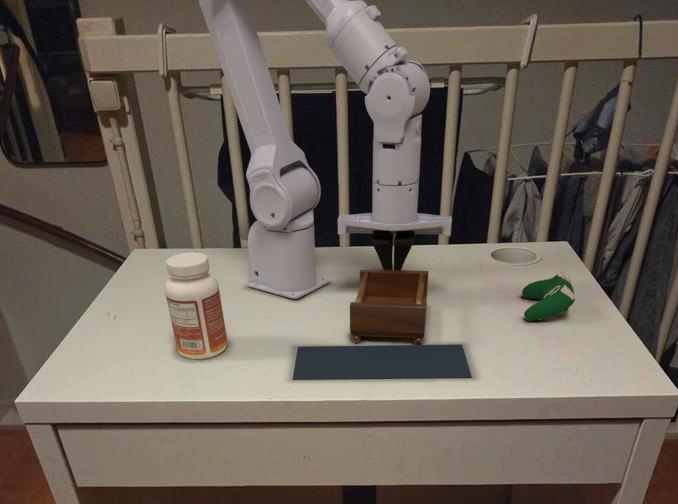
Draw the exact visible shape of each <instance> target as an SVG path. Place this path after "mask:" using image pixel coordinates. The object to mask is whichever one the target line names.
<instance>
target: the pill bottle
mask: <svg viewBox="0 0 678 504" xmlns="http://www.w3.org/2000/svg"><path fill="white" fill-rule="evenodd" d="M165 265H166V271H167V274H168V276H169V277H170V278H168V279H167V280H166V282H165V285H164V293H165V298H166V304H167V308H168V312H169V317H170V323H171V327H172V332H173V336H174V341H175V347H176V350H177V352H178V353H179V354H180V355H181V356H182V357H184V358H187V359H191V360H205V359H209V358H212V357H215V356H218V355H220V354H221V353H222V352H224V351H225V350H226V348H227V347H228V338H227V330H226V325H225V318H224V312H223V305H222V300H221V292H220V287H219V286H220V285H219V282H218V280H217V278H216V277H215V276H214V275H212V274H211V273H209V272H210V262H209V257H208V255H206V254H205V253H202V252H194V251H193V252H182V253H177V254H174V255H172V256H170V257H168V258H167V259H166V261H165Z"/></svg>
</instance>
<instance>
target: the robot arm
mask: <svg viewBox="0 0 678 504" xmlns="http://www.w3.org/2000/svg"><path fill="white" fill-rule="evenodd" d="M304 1H305V2H306V4H307V5H308V6H309V7H310V8H311V10H312V11H313V12H314V13H315V14H316V15H317V16H318V18H319V19H320V20H321V22H323V24H324V25H325V42H326V46H327V48H328V49H329V50H330V52H331V53H332V54H333V56H334V57H335V58H336V59H337V61H338V62H339V63H340V65H341V66H342V67H343V68H344V69H345V71H346V72H347V74H348V75H349V76H350V77H351V79H352V80H353V81H354V83H355V84H356V85H357V86H358V88H359V89H360V91H361V92H362V93H364V94H366V95H365V96H364V105H365V108H366V111H367V113H368V115H369V117H370V118H371V120H372V122H373V139H372V200H371V201H372V206H371V208H372V209H371V210H372V211H371V212H365V213H356V214H340V215H338V218H337V235H341V236H342V235H343V236H344V235H347V234H372V240H371V241H372V246H373V248H374V251H375V253H376V255H377V257H378V259H379V262H380V265H381V268H382V270H403V266H404V264H405V261H406V260H407V257H408V255H409V253H410V251H411V250H412V247H413V245H414V242H415V235H441V236H442V237H451V233H452V224H453V223H452V222H453V216H452V215H437V214H429V213H421V212H418V204H419V186H420V171H421V170H420V168H421V151H422V149H421V148H422V121H423V120H422V119H423V114H420V113H422V111H423V110H424V109H425V108H426V106H427V104H428V102H429V100H430V94H431V85H430V80H429V77H428V74H427V73H426V71H425V69H424V65H423V64H422V63H420V62H418V61H417V60H413V59H406V58H407V57H408V54H409V53H408V51H407V50H406V48H405V47H404V46H403V45H402V46H398V45H397V43H396V42H395V41H394V40H393V38H392V37H391V35H390V34H389V32H387V30H386V29H385V27H384V26H383V24H382V23H381V22H380V21H379V19H380V18H381V17H382V13H381V11H380V10H379V9H378V7H377V6H376V5H367V3H366V2H365V0H304ZM198 3H199V7H200V9H201V12H202V15H203V18H204V21H205V23H206V27H207V30H208V32H209V36H210V38H211V41H212V45H213V47H214V50H215V52H216V56H217V58H218V61H219V64H220V67H221V70H222V72H223V75H224V79H225V81H226V84H227V87H228V90H229V93H230V96H231V99H232V102H233V105H234V108H235V110H236V113H237V117H238V119H239V122H240V126H241V127H242V130H243V134H244V136H245V140H246V142H247V145H248V148H249V151H250V159H249V161H248V166H247V169H246V172H245V173H246V174H245V177H246V180H247V183H248V186H249V187H248V188H249V205H250V209H251V212H252V214H253V216H254V218H255V220H256V221H254V223H252V225H251V226H250V228H249V231H248V235H247V251H248V261H249V262H248V263H249V270H250V279H251V281H249V282H248V283H247V286H248V287H249V288H253V289H256V290H260V291H264V292H267V293H271V294H274V295H278V296H281V297H285V298H287V299H288V298H289V299H292V300H298V299H299V298H302V297H304V296H306V295H308V294H309V293H311V292H313V291H316V290H317V289H319V288H322V287H323V286H325V285H327V284H329V283H330V279H328V278H326V277H321V276H317V264H316V263H317V261H316V243H315V242H316V240H315V239H316V238H315V218H314V209H316V207H317V205H318V204H319V202H320V199H321V194H322V187H321V183H320V179H319V177H318V176H317V173H315V171H314V170H313V169H312V168H311V167H310V165H309V163H308V161H307V158H306V154H305V152H304V151H303V150H302V149H301V148H300V147H299V146H298V145H297V144H296V143H295V142H294V141H292V139H291V136H290V134H289V131H288V127H287V123H286V120H285V118H284V115H283V111H282V108H281V105H280V102H279V98H278V95H277V92H276V89H275V85H274V82H273V79H272V76H271V72H270V70H269V66H268V63H267V60H266V56H265V54H264V51H263V48H262V44H261V41H260V38H259V35H258V31H257V29H256V25H255V22H254V18H253V16H252V12H251V8H250V5H249V2H248V0H198Z"/></svg>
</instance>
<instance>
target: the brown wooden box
mask: <svg viewBox="0 0 678 504" xmlns="http://www.w3.org/2000/svg"><path fill="white" fill-rule="evenodd" d="M429 273H430V271H429V270H413V269H412V270H409V269H407V270H406V269H401V270H383V269H371V268H370V269H367V268H366V269H365V268H364V269H363V268H361V269H360V270H359V289H358V291H357V296H356V299H355V301H351V302H350V303H349V331H350V336H351V340H352V342H353V343H355V344H357V343H360V341H361V338H362V337H384V338H385V337H386V338H387V337H389V338H413V344H414V345H422V343H423V339H424V338H425V331H426V318H427V301H428V289H429V288H428V286H429Z"/></svg>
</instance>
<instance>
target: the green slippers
mask: <svg viewBox="0 0 678 504" xmlns="http://www.w3.org/2000/svg"><path fill="white" fill-rule="evenodd" d="M521 295H522V297H523V298H524V299H526V300H527V299H528V300H540V301H537V302H535V303H534V304H532V305H530V306H529V307H528V308H527V309H526V310H525V311H524V313H523V316H524V317H525V320H526V321H527V322H531V321H542V320H544V319H548V318H552V317H554V316H557V315H559V314H561V313H566V312H567V311H568V310H569V308H570V307H571V306H572V305H573V304H574V303H575V302H576V295H575V291H574V287H573V285H572V281H571V279H570V277H569V276H568V275H567V274H566V272H564V271H563V270H562V269H560V270H559V272H558V273H557V274H555V275H554V276H553V277H549V278H546V279H541V280H536V281H533V282H531V283H528V284H527V285H526V286H524V287H523V289H522V290H521ZM541 299H542V300H541Z"/></svg>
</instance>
